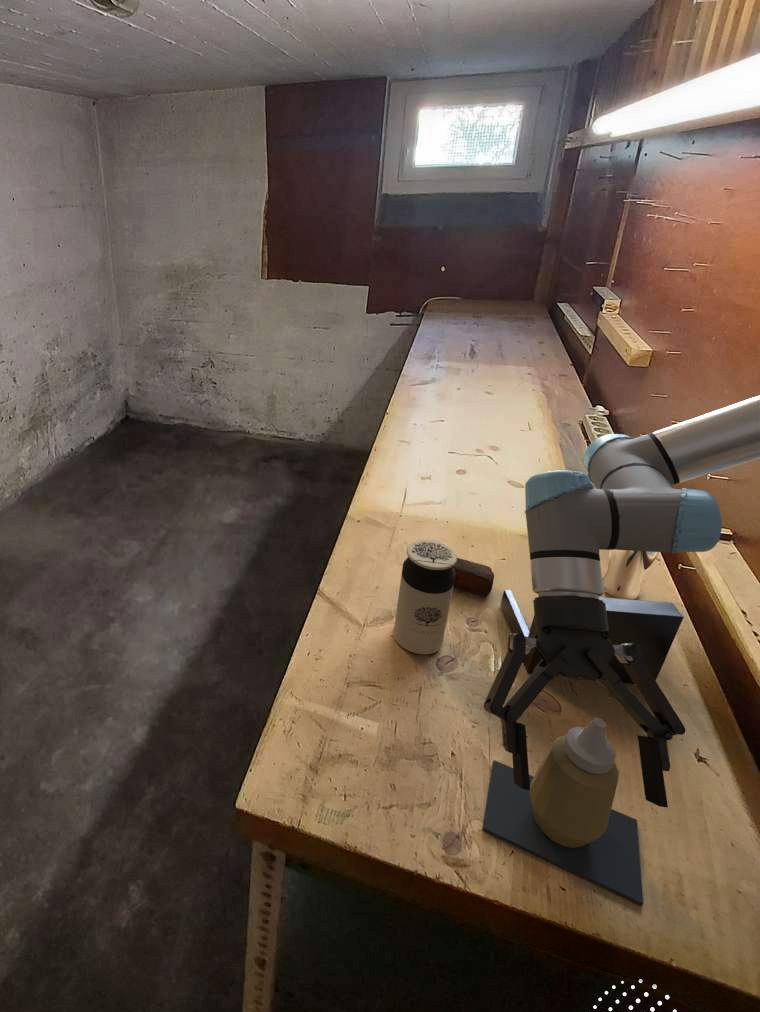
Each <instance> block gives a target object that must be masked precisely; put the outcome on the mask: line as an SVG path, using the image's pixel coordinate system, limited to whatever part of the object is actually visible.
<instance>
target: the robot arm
mask: <svg viewBox="0 0 760 1012" xmlns="http://www.w3.org/2000/svg"><path fill="white" fill-rule="evenodd" d="M757 460H760V394H759V395H756V396H753V397H750V398H747V399H745V400H742V401H739V402H736V403H733V404H729V405H728V406H725V407H721V408H718V409H716V410H712V411H711V412H707V413H704V414H702V415H698V416H696V417H693V418H690V419H687V420H685V421H681V422H679V423H676V424H672V425H670V426H667V427H664V428H661V429H658V430H655V431H653V432H649V433H647V434H644V435H641V436H638V437H634V438H633V437H632V436H630V435H627V434H623V433H621V434H620V433H609V434H604V435H601V436H599V437H598V438H596V439H595V440H593V441H592V442H591V443H590V444H589V445H588V446H587V447H586V450H585V452H584V456H583V462H584V468H585V470H586V472H587V473H585V472H582V471H577V470H576V471H575V470H574V471H573V470H572V471H571V470H567V469H559V470H549V471H543V472H539V473H535V474H534V475H532V476H530V477H529V478H528V480H527V481H526V482H525V484H524V492H525V493H524V495H525V510H524V514H525V521H526V530H527V541H528V551H529V560H530V563H529V565H530V576H531V588H532V592H533V593H535V594H537V595H538V596H535V598H534V599H533V600H532V604H533V617H534V616H535V626H536V635H535V638H531V637H526V636H524V635H523V634H511V633H510V634H508V636H507V652H506V654H505V656H504V658H503V660H502V663H501V665H500V667H499V669H498V672H497V674H496V676H495V678H494V680H493V683H492V685H491V687H490V689H489V692H488V693H487V696H486V698H485V700H484V703H483V705H482V707H483V709H484V711H486V712H487V713H489V714H491V715H494V716H496V717H497V718H498V719H499V720H500V722H501V734H502V747H503V748H504V751H505V752H507V753H510V754H511V757H512V758H511V759H512V768H513V773H514V783H515V784H516V785H518V786H519V787H520V788H522V789H526V790H530V781H529V775H530V769H529V755H528V740H527V729H526V724H524V723H521V722H519V721H518V720H519V719H520V718H521V717H522V715H523V714H524V713H525V712H526V711H527V710H528V709H529V707H530V706H531V705H532V704H533V703H534V701H535V700H536V699H537V698H538V696H539V695H540V694H541V693H542V692H543V690H544V689H545V688H546V687H547V685H549V683H550V682H551V681H552V680H554V679H556V678H563V679H573V678H579V679H578V680H583V679H584V680H585V681H595V680H596V681H595V682H597V683H599V685H601V686H603V688H604V689H605V690H606V691H607V692H608V693H609V695H610V696H611V697H612V698H613V699H614V700H615V702H617V703H618V704H619V705H620V706H621V708H622V709H623V710H624V711H625V712H626V713H627V715H629V717H630V718H631V719H632V720H633V721H634V722H635V723H636V725H638V726H639V728H640V729H641V730H642V731H643V732H644V733H645V734H646V735H641V734H637V735H636V736H637V746H638V752H639V761H640V768H641V774H642V782H643V789H644V799H645V801H647V802H650V803H651V804H654V805H656V806H658V807H660V808H667V809H668V808H669V805H668V797H667V791H666V783H665V776H664V772H670V771H671V761H670V754H669V748H668V741H671V740H672V739H673V736H677V735H682V736H683V735H684V734H685V733H686V727H685V725H684V724H683V722H682V720H681V719H680V717H679V716H678V714H677V713H676V711H675V709H674V708H673V706H672V704H671V703H670V701H669V700H668V698H667V697H666V695H665V693H664V692H663V690H662V689H661V686H660V685H659V684H658V682H657V680H656V681H655V679H654V677H653V676H652V674H651V673H650V671H649V669H648V668H647V666H646V665H645V661H644V657H643V653H642V649H641V647H640V646H639V645H638V644H632V643H623V644H620V645H612V644H611V642H610V640H609V637H608V631H609V628H608V620H607V612H606V604H605V603H603V601H602V600H599V597H602V596H603V595H605V591H604V587H603V579H602V578H603V573H602V563H601V556H600V551H601V550H604V551H610V550H630V551H649V552H658V553H669V554H673V555H674V554H677V553H704V552H708V551H711V550H713V549H714V548H715V547H716V546H717V544H718V543H719V541H720V539H721V534H722V531H723V529H722V528H723V522H722V521H723V520H722V513H721V509H720V506H719V503H718V502H717V500H716V498H715V497H714V496H713V495H712V494H711V493H710V492H708V491H705V490H702V489H693V488H687V487H682V488H675V486H674V485H678V484H680V483H684V482H687V481H691V480H694V479H698V478H700V477H704V476H708V475H710V474H713V473H714V474H715V473H717V472H720V471H724V470H728V469H731V468H734V467H737V466H741V465H744V464H747V463H750V462H754V461H757ZM594 487H595V488H594ZM533 647H534V649H535V650H536V652H537V653H538V654H539V656H540V657H541V658H542V660H541V661H540V662H539V663H538V664H537V666H536V667H535V668H534V670H533V673H532V674H529V676H528V677H527V678H526V680H525V681H524V682H523V683H522V684H521V685H520V687H519V688H518V689H517V691H516V692H515V693H514V694H513V695H512V696H511V698H510V699H509V700H508V701H507V702H506V700H507V699H508V696H509V695H510V692H511V689H512V687H513V685H514V682H515V680H516V678H517V676H518V674H519V672H520V670H521V667H522V665H523V660H524V657H525V654H529V653H530V650H531V649H532V648H533ZM614 655H615V656H616V657H617V659H618V660H619V662H621V663H623V665H624V667H625V669H626V671H627V673H628V674H629V676H630V678H631V679H632V681H633V682H634V684H635V685H634V684H633V685H634V686H635V687H636V689H637V691H638V692H639V694H640V695H641V697H642V699H643V700H644V703H645V704H646V705H647V707H648V708H649V709H648V708H647V707H646V706H645V704H643V703H642V701H640V699H639V698H638V697H637V696H636V695H635V694H634V693H633V692H632V690H631V689H630V688H629V687H628V686H627V684H624V683H623V682H622V681H621V678H620V677H619V675H618V674H617V673H616V672H615V671H614V670H613V669H612V668H611V667H610V666H609V665H608V664H609V663H610V661H611V660H612V658H613V657H614ZM556 676H558V677H556Z"/></svg>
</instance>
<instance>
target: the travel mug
mask: <svg viewBox="0 0 760 1012" xmlns="http://www.w3.org/2000/svg"><path fill="white" fill-rule="evenodd" d="M406 556H407V557H406V558H405V559H404V561H403V562H402V569H401V576H400V584H399V590H398V598H397V603H396V612H395V618H394V627H393V637H394V639H395V641H396V642H397V644H398V645H399V646H400V647H402V648H403V649H405V650H406V651H409V652H410V653H413V654H418V655H432V654H435V653H436V652H438V651H439V650H441V648H442V646H443V642H444V638H445V632H446V628H447V623H448V617H449V611H450V606H451V601H452V596H453V591H454V587H453V586H454V581H455V576H456V573H455V570H454V568H453V566H454V565H455V563H456V562H457V558H458V556H457V554H456V552H455V551H454V550H453V549H452V547H450V546H449V545H447V544H446V543H443V542H441V541H438V540H433V539H418V540H414V541H412V542H410V543H409V544H408V545H407V547H406Z"/></svg>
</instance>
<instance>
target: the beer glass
mask: <svg viewBox="0 0 760 1012" xmlns="http://www.w3.org/2000/svg"><path fill="white" fill-rule="evenodd" d="M658 555H659V552H649V551H630V550H609V555H608V567H607V570H606V572H605V574H604V575H603V576H602V579H603V587H604V593H606V594H607V595H608V596H611V597H612V598H616V599H629V600H637V598H639V597H640V591H641V583H642V580H643V578H644V576H645V575H646V573H647V572H648V570H649V569H650V567H651V566H652V565H653V563H654V562H655V560H656V558H657V557H658Z"/></svg>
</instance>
